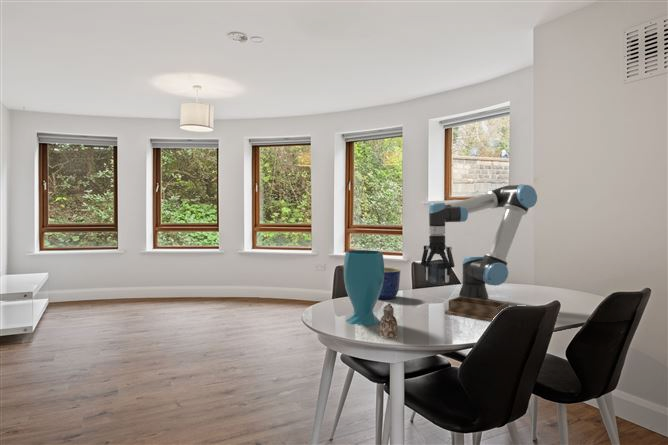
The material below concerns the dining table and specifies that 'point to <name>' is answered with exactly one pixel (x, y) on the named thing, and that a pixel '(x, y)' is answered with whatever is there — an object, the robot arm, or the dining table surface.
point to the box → (436, 272)
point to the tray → (475, 308)
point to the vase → (363, 283)
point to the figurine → (388, 323)
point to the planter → (390, 283)
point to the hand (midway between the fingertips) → (437, 280)
